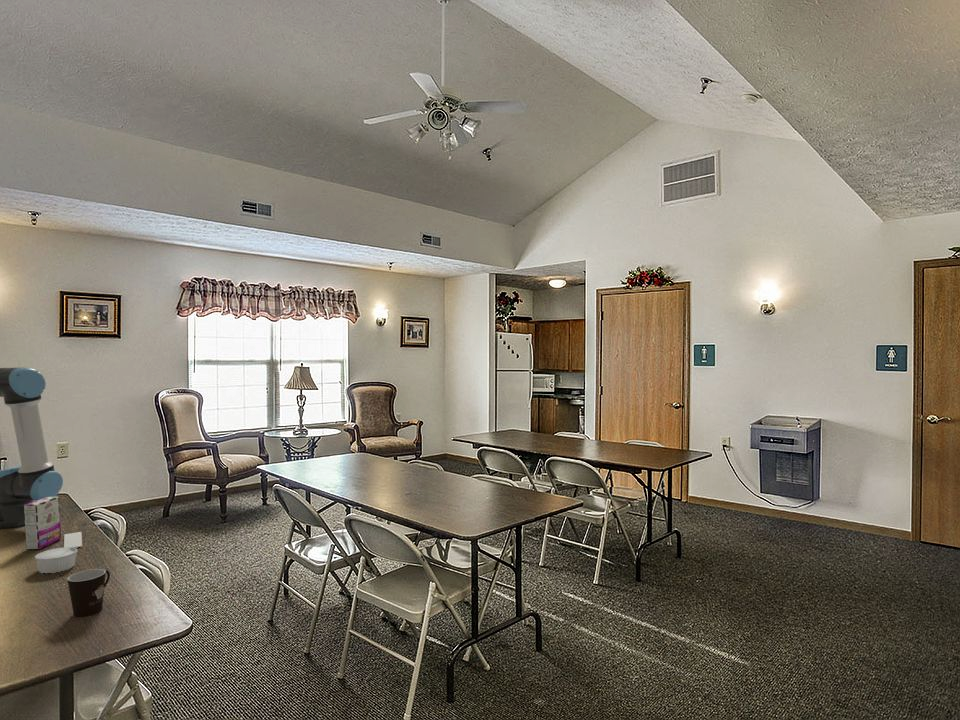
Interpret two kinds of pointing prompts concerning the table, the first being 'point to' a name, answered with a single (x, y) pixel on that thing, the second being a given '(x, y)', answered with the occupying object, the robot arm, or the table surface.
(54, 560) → the ramekin
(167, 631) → the table surface
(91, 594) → the coffee mug
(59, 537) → the candy bar box
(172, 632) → the table surface
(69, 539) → the mat
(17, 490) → the robot arm
